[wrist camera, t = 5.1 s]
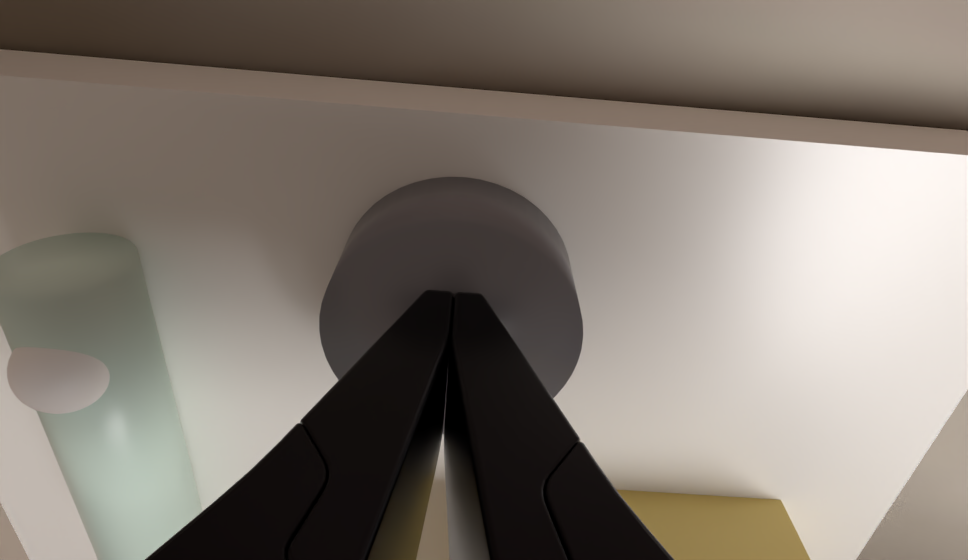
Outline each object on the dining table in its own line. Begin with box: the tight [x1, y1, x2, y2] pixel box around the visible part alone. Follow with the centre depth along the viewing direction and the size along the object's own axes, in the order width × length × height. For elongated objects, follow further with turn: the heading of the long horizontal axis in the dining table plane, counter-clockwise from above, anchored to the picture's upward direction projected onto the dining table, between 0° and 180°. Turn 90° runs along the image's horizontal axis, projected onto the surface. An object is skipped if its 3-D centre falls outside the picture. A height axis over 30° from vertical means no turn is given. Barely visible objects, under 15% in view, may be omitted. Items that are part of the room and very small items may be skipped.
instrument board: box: [0, 49, 968, 560], centre depth 12 cm, size 14×20×4 cm
